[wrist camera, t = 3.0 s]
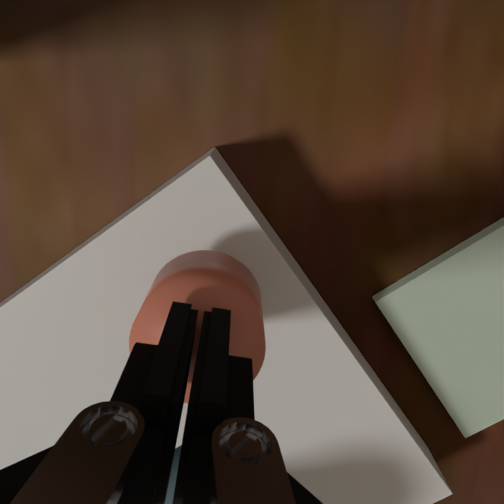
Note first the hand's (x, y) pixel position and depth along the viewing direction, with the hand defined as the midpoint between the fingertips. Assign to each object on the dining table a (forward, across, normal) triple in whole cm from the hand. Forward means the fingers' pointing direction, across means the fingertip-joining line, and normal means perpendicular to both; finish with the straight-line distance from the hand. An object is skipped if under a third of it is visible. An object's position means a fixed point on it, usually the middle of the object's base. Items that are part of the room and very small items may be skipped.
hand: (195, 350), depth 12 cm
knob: (+5, 0, 0) cm, 5 cm away
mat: (+8, -15, +1) cm, 17 cm away
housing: (+8, 0, +9) cm, 12 cm away
